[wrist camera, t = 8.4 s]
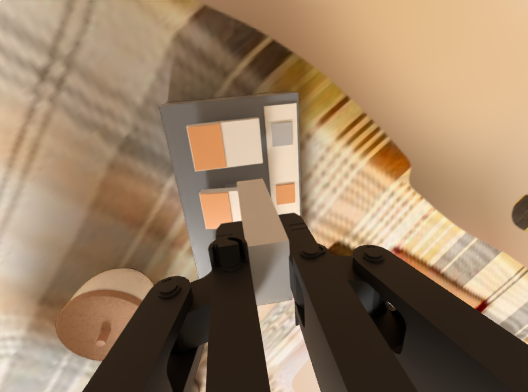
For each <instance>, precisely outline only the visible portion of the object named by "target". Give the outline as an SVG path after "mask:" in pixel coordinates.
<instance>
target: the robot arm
mask: <svg viewBox="0 0 528 392" xmlns="http://www.w3.org/2000/svg"><path fill="white" fill-rule="evenodd" d="M237 190H238V197H239V205H240V213H241V220H242V221H236V222H229V223H222V224H220V226H219V227H218V228H217V230H216V240H214V241H213V242H212V243H211V244H210V245H209V247H208V252H209V257H210V262H211V267H212V271H211V272H210V273H209V274H207V275H206V276H204V277H202V278H200V279H198V280H196V281H193V282H191V283H190V282H189V280H188V279H186V278H185V277H181V276H173V277H168V278H166V279H163V280H161V281H159V282H158V283H156V284H155V285H154V286H153V287H152V288H151V289H150V290H149V292H148V293H147V295H146V296H145V298H144V299H143V301H142V302H141V304H140V305H139V307H138V308H137V310H136V311H135V313H134V314H133V316H132V317H131V319H130V320H129V322H128V323H127V325H126V326H125V328H124V329H123V331H122V333H121V334H120V336H119V337H118V339H117V340H116V342H115V343H114V345H113V346H112V348H111V349H110V351H109V352H108V354H107V355H106V357H105V358H104V360H103V361H102V363H101V364H100V366H99V367H98V369H97V370H96V372H95V373H94V375H93V376H92V378H91V379H90V381H89V382H88V384H87V385H86V387H85V388H84V390H83V391H82V392H199V389H198V385H197V383H196V381H195V380H194V377H195V374H196V371H197V368H198V365H199V362H200V358H201V355H202V352H203V349H204V343H206V342H208V356H207V377H206V392H270V386H269V379H268V373H267V367H266V361H265V354H264V348H263V342H262V336H261V329H260V323H259V317H258V311H257V306H260V305H266V304H271V303H277V302H283V301H289V300H292V294H293V296H294V299H295V321H296V326H297V325H300V328H301V331H302V334H303V337H304V340H305V343H306V347H307V350H308V353H309V356H310V359H311V362H312V365H313V369H314V372H315V375H316V378H317V381H318V384H319V387H320V390H321V392H528V345H527V344H526V343H525V342H523V341H522V340H520V339H519V338H517V337H516V336H514V335H513V334H511V333H510V332H508V331H507V330H505V329H504V328H502V327H501V326H499V325H498V324H496V323H495V322H493V321H492V320H490V319H489V318H488V317H486V316H485V315H483V314H482V313H480V312H479V311H477V310H476V309H474V308H473V307H471V306H470V305H468V304H467V303H465V302H464V301H462V300H461V299H459V298H458V297H456V296H455V295H453V294H452V293H450V292H449V291H448V290H446V289H445V288H443V287H442V286H440V285H439V284H437V283H436V282H434V281H433V280H431V279H430V278H428V277H427V276H425V275H424V274H422V273H421V272H419V271H418V270H416V269H415V268H413V267H412V266H410V265H409V264H408V263H406V262H405V261H403V260H402V259H400V258H399V257H397V256H396V255H394V254H393V253H391V252H390V251H388V250H386V249H384V248H382V247H379V246H375V245H363V246H359V247H358V248H356V249H355V250H354V252H353V256H338V255H333V254H331V253H330V252H329V250H328V249H327V248H326V247H325V246H323V245H320V244H317V242H316V241H315V239H314V237H313V236H312V234H311V232H310V231H309V229H308V227H307V226H306V224H305V222H304V220H303V219H302V217H301V216H299V215H297V214H296V213H288V214H280V215H278V213H277V211H276V209H275V206H274V204H273V202H272V199H271V197H270V195H269V192H268V190H267V188H266V185H265V183H264V181H263V179H255V180H247V181H239V182H237ZM388 302H389V303H390V304H391V305H392V306H393V307H392V306H391V305H390V304H389V303H388ZM394 307H395V308H394Z"/></svg>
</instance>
